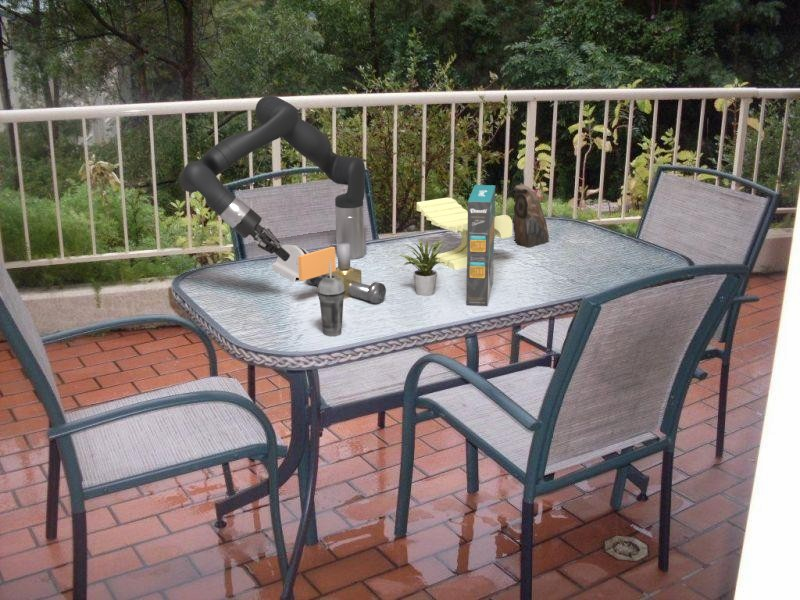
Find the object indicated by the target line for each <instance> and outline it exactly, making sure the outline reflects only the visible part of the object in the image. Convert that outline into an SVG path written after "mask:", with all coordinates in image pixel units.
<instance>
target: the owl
mask: <svg viewBox="0 0 800 600" xmlns="http://www.w3.org/2000/svg"><path fill="white" fill-rule="evenodd" d="M513 191H514V194H513V198H514V206H513V218H512V224H513V225H512V230H513V232H514V233H513V234H514V239H513V242H515V244H516V245H517V246H520V247H523V248H529V249H530V248H534V247H537V246H539V245H540V246H541V245H545V244H546V243H549V242H550V241H549V238H550V235H549V231H548V226H547V219H546V218H545V215H544V212H543V208H542V205H541V202H540V199H539V197H538V196H537V194H536V193H535V192H534V190H532V188H530V186H527V185H524V184H523V183H522V182H520V183H519V184H516V185H515V186H514V188H513Z"/></svg>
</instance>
